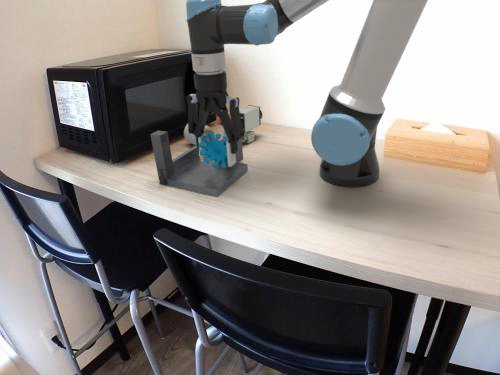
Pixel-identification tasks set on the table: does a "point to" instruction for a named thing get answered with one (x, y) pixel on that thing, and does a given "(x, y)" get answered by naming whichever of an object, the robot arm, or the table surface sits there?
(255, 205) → the table surface
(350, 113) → the robot arm
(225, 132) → the plunger
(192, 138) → the ceramic mug
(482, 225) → the table surface
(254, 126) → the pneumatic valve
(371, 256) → the table surface
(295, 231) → the table surface
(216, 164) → the blue lobed star wheel
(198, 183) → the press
